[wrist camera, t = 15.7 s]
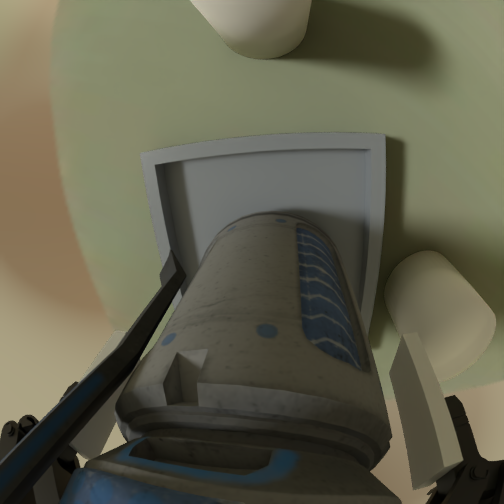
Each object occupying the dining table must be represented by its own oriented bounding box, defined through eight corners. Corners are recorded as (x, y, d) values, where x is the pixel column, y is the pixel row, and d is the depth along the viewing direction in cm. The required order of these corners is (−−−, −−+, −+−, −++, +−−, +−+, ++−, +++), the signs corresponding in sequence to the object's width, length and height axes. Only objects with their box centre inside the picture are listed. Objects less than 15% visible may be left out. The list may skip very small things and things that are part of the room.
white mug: (389, 251, 20) (430, 313, 12) (458, 249, 19) (508, 299, 11) (374, 339, 23) (392, 406, 16) (435, 331, 22) (463, 389, 15)
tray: (152, 150, 19) (139, 153, 17) (375, 133, 16) (385, 134, 14) (196, 347, 26) (191, 361, 25) (358, 347, 24) (361, 361, 22)
